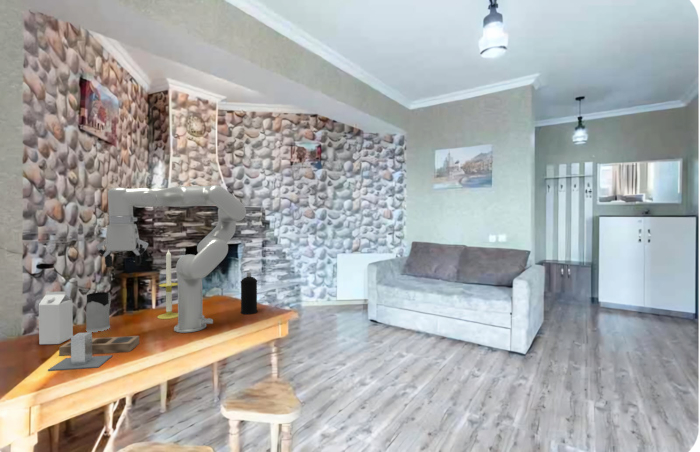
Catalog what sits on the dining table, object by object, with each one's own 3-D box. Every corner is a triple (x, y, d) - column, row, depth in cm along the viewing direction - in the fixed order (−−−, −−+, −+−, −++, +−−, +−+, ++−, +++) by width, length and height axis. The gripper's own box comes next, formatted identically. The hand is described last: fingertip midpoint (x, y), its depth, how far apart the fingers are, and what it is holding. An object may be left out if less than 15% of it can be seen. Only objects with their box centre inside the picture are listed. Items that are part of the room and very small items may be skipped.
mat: (112, 356, 119) (112, 355, 119) (98, 367, 110) (98, 366, 110) (66, 359, 116) (66, 358, 116) (47, 370, 107) (47, 369, 107)
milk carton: (53, 338, 136) (52, 290, 136) (73, 337, 137) (72, 289, 136) (39, 344, 129) (38, 294, 128) (59, 344, 130) (58, 293, 129)
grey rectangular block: (92, 359, 115) (92, 332, 115) (85, 364, 111) (84, 336, 111) (79, 359, 115) (78, 332, 114) (71, 365, 111) (70, 337, 111)
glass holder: (80, 333, 142) (79, 296, 142) (99, 322, 156) (99, 289, 156) (103, 332, 144) (103, 295, 143) (120, 321, 158) (120, 288, 157)
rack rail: (139, 343, 131) (139, 335, 131) (129, 351, 123) (129, 343, 123) (73, 347, 127) (73, 338, 127) (59, 355, 119) (59, 346, 119)
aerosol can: (254, 314, 170) (254, 274, 170) (238, 314, 170) (238, 273, 170) (259, 310, 179) (259, 271, 178) (243, 310, 179) (243, 271, 178)
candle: (154, 319, 161) (153, 249, 160) (160, 314, 171) (160, 248, 170) (177, 318, 163) (177, 249, 162) (182, 312, 173) (182, 247, 172)
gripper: (150, 220, 136) (152, 263, 137) (100, 221, 132) (102, 265, 133) (143, 220, 129) (145, 266, 129) (90, 221, 125) (92, 269, 126)
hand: (123, 266), depth 131 cm, fingers open, 9 cm apart
